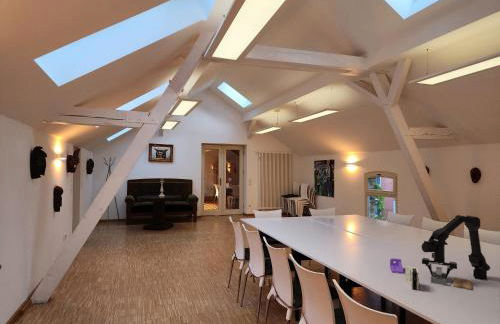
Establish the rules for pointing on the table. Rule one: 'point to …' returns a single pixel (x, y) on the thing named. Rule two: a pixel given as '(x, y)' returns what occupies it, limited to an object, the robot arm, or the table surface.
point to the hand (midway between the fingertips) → (439, 277)
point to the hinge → (412, 276)
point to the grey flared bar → (439, 272)
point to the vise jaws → (438, 279)
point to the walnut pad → (462, 283)
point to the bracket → (396, 266)
